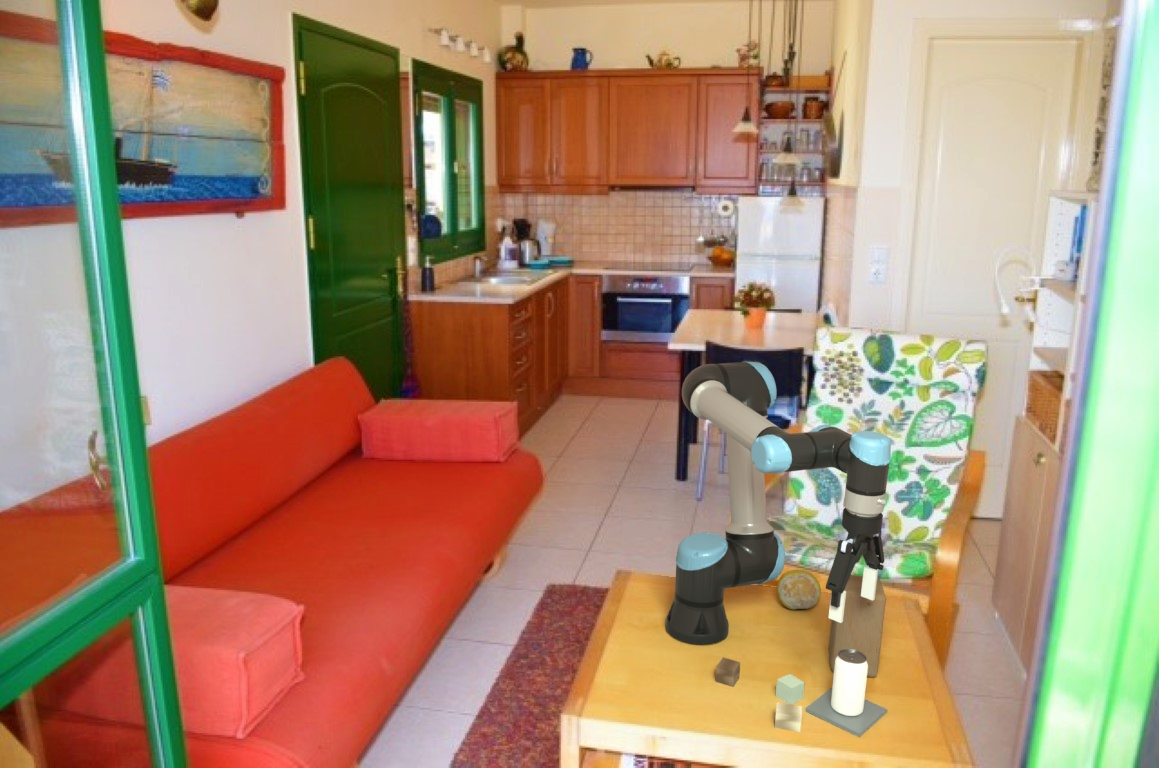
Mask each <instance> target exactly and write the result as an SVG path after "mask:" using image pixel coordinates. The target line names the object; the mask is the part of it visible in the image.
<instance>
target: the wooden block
mask: <svg viewBox="0 0 1159 768" xmlns="http://www.w3.org/2000/svg"><path fill="white" fill-rule="evenodd" d="M862 581H863V575H862V576H861V575H852V574H851V575H850V578H849V580H848V582H847V585H846V587H845V589H844V591H846V598H845V607H844V616H843V622H842V623H840V622H837V621H835V620H832V619H830V629H829V632H830V633H829V640H828V649H827V650H828V656H829V663H830V669H831V671H832V672H834V667H835V659H836V657H837V656H838V652H839V651H840V650H843V649H854V650H857V651H860V652H862V653H863V654H864V655H865V656H866V657H867V660H866V661H867V664H868V672H867V677H868V678H869V677H870V678H875V677H877V675H878V671H879V664H880V663H879V662H880V656H881V646H882V637H883V629H884V628H883V627H884V621H885V613H886V612H885V610H886V603H887V598H886V594H885V591H884V587H883V583H882V581H881V579H880V578H878V577H877V583H876V592H875V600H870V599H867V598H865V597H862V596H861V589H862Z"/></svg>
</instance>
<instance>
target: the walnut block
mask: <svg viewBox="0 0 1159 768" xmlns="http://www.w3.org/2000/svg"><path fill="white" fill-rule="evenodd" d="M715 671H716V672H715V682H716V683H718V684H722V685H724V686H725V685H726V686H728V687H732V688H734V687H735V685H736V684H737V682H738V681H739V680H740V674H741V673H740V671H741V661H737V660H733V659H730V658H726V657H722V658H721V659H720V661H719V662H718V663H717V664H716V670H715Z"/></svg>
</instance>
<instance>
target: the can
mask: <svg viewBox="0 0 1159 768" xmlns="http://www.w3.org/2000/svg"><path fill="white" fill-rule="evenodd" d="M866 660H867V657H866V656H865V655H864V654H863V653H862V652H860V651H857V650H854V649H843V650H840V651H839V652H838V656H837V657H836V659H835V667H834V671H833V678H832V687H831V688H832V696H831V706H832V708H833V709H834V710H835V711H836V712H837V713H839V714H841V715H844V716H849V717H854V716H858V715H859V714H861V713H862V712H863V707H864V699H866V689H867V680H868V678H867V677H868V676H867V672H868V664H867V661H866Z"/></svg>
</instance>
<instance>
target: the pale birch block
mask: <svg viewBox="0 0 1159 768" xmlns="http://www.w3.org/2000/svg"><path fill="white" fill-rule="evenodd" d="M802 717H803V706H802V705H798V704H792V705H791V704H787V703H786V702H785V703H784V702H778V701H777V702H776V706H775V717H774V718H775V719H774V728H775V729H780V730H784V731H785V730H786V731H791V732H797V733H801V728H802V719H803V718H802Z"/></svg>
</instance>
